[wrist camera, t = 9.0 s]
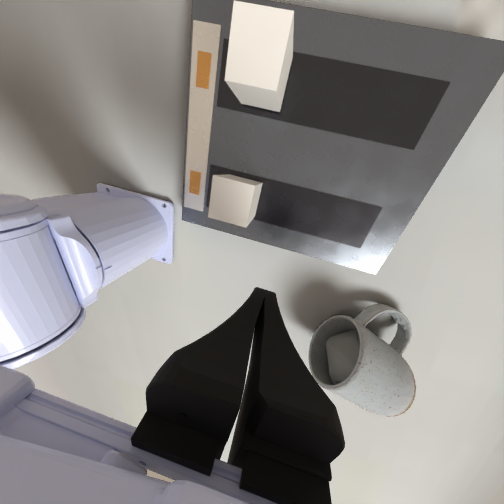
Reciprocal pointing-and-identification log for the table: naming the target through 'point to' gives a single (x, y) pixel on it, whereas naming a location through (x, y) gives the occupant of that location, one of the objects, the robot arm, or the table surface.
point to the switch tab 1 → (259, 54)
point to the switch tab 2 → (234, 199)
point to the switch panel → (333, 128)
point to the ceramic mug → (364, 362)
